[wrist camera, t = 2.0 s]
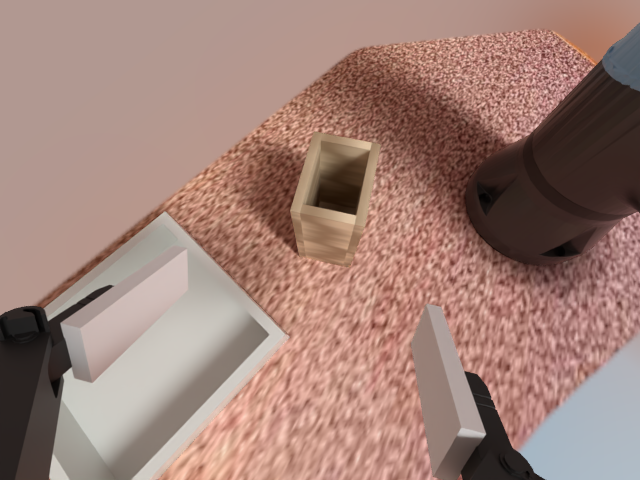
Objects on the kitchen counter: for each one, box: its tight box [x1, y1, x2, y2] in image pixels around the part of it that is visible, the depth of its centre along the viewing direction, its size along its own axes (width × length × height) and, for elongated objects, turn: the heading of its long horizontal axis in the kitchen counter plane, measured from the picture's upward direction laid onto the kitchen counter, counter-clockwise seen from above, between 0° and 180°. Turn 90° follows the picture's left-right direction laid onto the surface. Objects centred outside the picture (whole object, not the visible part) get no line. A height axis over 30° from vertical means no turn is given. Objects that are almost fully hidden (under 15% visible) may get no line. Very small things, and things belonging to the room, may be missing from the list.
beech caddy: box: [290, 132, 381, 268], centre depth 30 cm, size 6×8×12 cm
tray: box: [43, 212, 290, 480], centre depth 29 cm, size 18×20×5 cm
